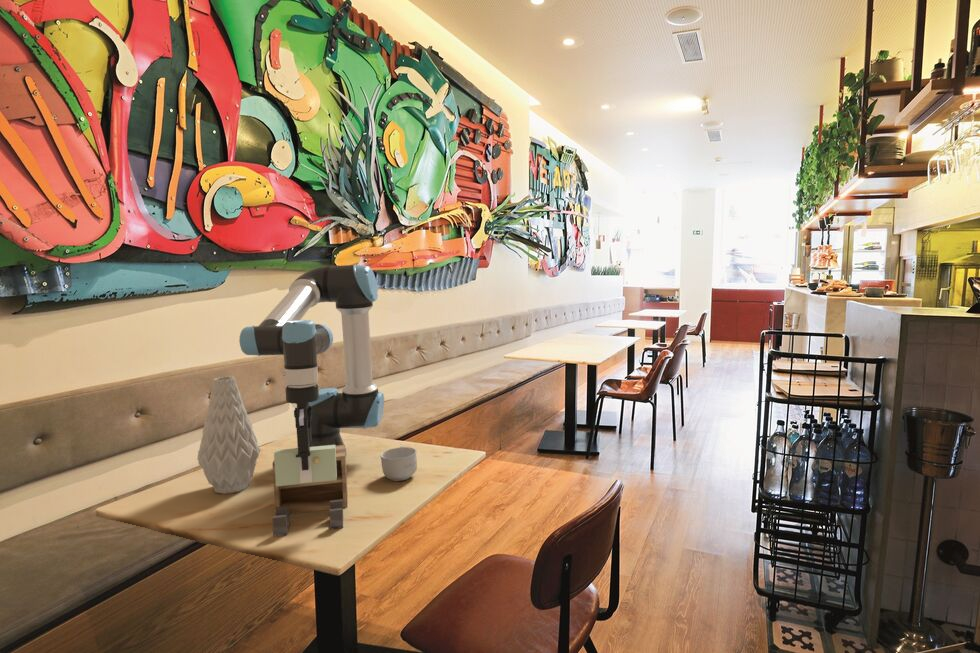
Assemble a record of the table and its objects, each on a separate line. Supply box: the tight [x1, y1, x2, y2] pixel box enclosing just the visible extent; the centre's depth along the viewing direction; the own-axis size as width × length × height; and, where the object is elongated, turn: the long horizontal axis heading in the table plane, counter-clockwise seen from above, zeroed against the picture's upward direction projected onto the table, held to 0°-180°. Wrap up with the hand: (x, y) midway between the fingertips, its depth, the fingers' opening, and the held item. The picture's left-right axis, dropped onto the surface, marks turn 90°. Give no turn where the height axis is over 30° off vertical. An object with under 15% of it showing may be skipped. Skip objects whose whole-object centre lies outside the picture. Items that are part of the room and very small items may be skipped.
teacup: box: [380, 445, 418, 482], centre depth 170 cm, size 14×11×8 cm
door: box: [273, 445, 337, 486], centre depth 135 cm, size 4×14×8 cm, turn 104°
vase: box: [197, 376, 261, 495], centre depth 161 cm, size 17×17×33 cm
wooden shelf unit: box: [272, 444, 348, 537], centre depth 144 cm, size 22×18×14 cm
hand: (306, 479), depth 136 cm, fingers closed on door, 3 cm apart
